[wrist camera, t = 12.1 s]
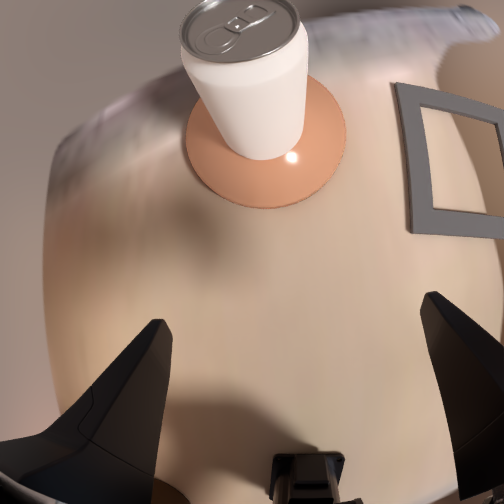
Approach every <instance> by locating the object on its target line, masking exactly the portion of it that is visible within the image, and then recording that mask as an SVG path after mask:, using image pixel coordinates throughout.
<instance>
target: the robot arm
mask: <svg viewBox="0 0 504 504" xmlns="http://www.w3.org/2000/svg"><path fill="white" fill-rule="evenodd" d="M420 316H421V320H422V324H423V329H424V333H425V338H426V343H427V347H428V352H429V355H430V359H431V362H432V365H433V369H434V372H435V376H436V379H437V383H438V386H439V390H440V394H441V398H442V402H443V406H444V410H445V414H446V418H447V423H448V427H449V432H450V437H451V442H452V448H453V452H454V453H453V454H454V460H455V467H456V473H457V481H458V489H459V498H460V501H462V500H465V499H468V498H471V497H473V496H476V495H479V494H481V493H483V492H486V491H489V490H491V489H492V493H493V495H492V496H490V497H488V498H486V499H485V500H484V502H483V504H504V346H503V345H502V344H501V343H500V342H498V341H497V340H496V339H495V338H494V337H493V336H491V335H490V334H489V333H488V332H487V331H486V330H484V329H483V328H482V327H481V326H480V325H478V324H477V323H476V322H475V321H474V320H472V319H471V318H470V317H469V316H468V315H466V314H465V313H464V312H463V311H461V310H460V309H459V308H458V307H456V306H455V305H454V304H453V303H451V302H450V301H449V300H447V299H446V298H445V297H444V296H442V295H441V294H440V293H438V292H437V291H432V292H427V293H426V294H425V296H424V299H423V302H422V305H421V309H420ZM172 342H173V337H172V333H171V331H170V329H169V327H168V325H167V324H166V322H165V320H164V319H153V320H151V321H150V322H149V323H148V324H147V325H146V327H145V328H144V329H143V330H142V331H141V332H140V333H139V334H138V335H137V336H136V337H135V338H134V339H133V340H132V341H131V343H130V344H129V345H128V346H127V347H126V348H125V349H124V350H123V351H122V352H121V353H120V354H119V355H118V357H117V358H116V359H115V360H114V361H113V362H112V363H111V364H110V365H109V366H108V367H107V368H106V370H105V371H104V372H103V373H102V374H101V375H100V376H99V377H98V378H97V379H96V381H95V382H94V383H93V384H92V386H90V387H89V388H88V389H87V390H86V392H85V393H84V394H83V395H82V396H81V397H80V398H79V399H78V400H77V401H76V402H75V403H74V404H73V405H72V406H71V407H70V408H69V409H68V410H67V411H66V412H65V413H64V414H62V415H61V416H60V417H59V418H58V419H57V420H56V421H55V422H54V423H53V424H52V425H51V426H50V427H48V428H47V429H46V430H45V431H43V432H41V433H39V434H37V435H34V436H29V437H24V438H18V439H13V440H8V441H2V442H0V504H151V500H152V491H153V483H154V474H155V466H156V459H157V452H158V445H159V438H160V432H161V426H162V419H163V413H164V407H165V401H166V396H167V390H168V385H169V378H170V368H171V354H172ZM277 458H280V460H277ZM339 458H341V459H340V460H337V459H339ZM344 461H345V458H344V455H342V454H325V455H324V454H297V455H296V454H276V455H274V457H273V464H272V474H271V484H270V494H269V499H270V500H272V501H273V504H363V502H362V500H361V498H357V499H354V500H352V501H346V502H340V497H339V491H338V485H339V481H340V477H341V473H342V469H343V465H344Z"/></svg>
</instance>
